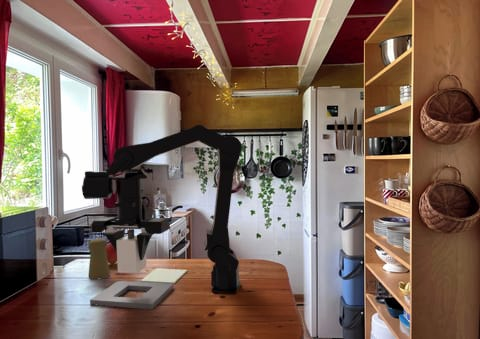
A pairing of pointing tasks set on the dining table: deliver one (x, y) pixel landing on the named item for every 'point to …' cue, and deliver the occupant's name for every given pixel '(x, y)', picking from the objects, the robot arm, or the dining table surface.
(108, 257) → the onion
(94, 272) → the olive green tapered block
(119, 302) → the gray rectangular frame
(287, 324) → the dining table surface
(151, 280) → the mat
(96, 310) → the dining table surface
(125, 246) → the plug
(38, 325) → the dining table surface
